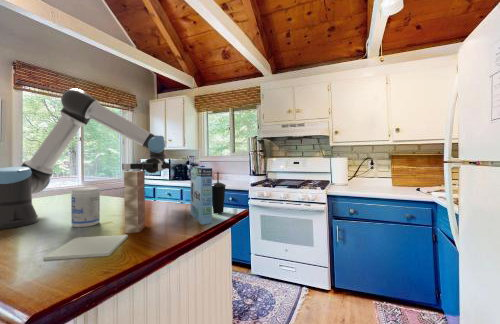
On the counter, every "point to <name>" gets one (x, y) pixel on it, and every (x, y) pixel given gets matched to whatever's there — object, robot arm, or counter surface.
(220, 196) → the drinking cup
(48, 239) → the counter surface
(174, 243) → the counter surface
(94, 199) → the supplement tub
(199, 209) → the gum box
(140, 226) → the wooden block tower
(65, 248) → the mat
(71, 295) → the counter surface
